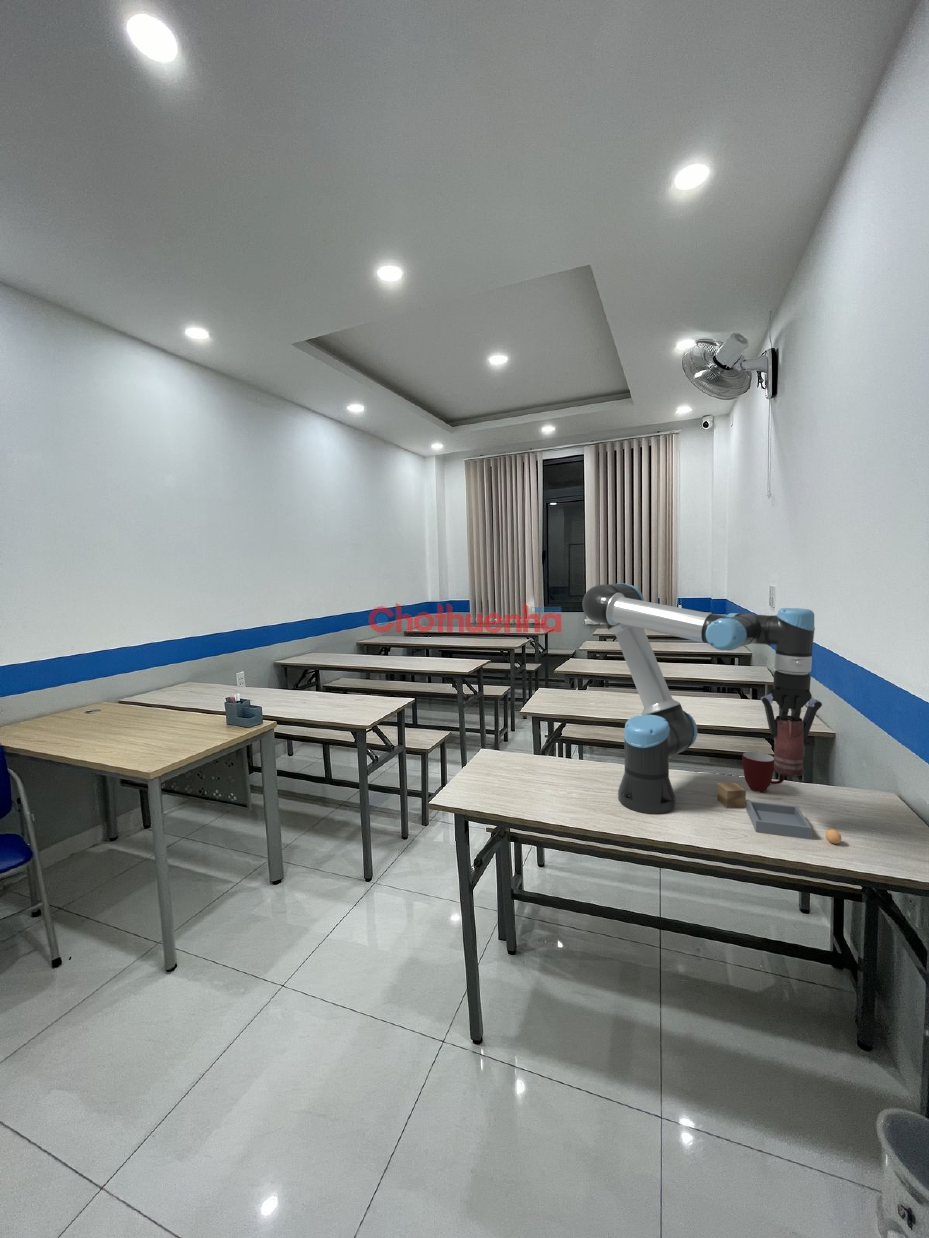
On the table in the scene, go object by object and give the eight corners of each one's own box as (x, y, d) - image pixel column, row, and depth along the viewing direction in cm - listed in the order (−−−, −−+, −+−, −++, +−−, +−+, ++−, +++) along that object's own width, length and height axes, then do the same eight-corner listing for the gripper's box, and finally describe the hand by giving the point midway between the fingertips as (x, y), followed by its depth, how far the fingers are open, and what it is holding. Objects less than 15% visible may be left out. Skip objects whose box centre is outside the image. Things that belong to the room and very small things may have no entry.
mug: (780, 786, 145) (781, 754, 144) (786, 798, 137) (787, 764, 136) (739, 782, 149) (740, 750, 148) (744, 793, 141) (744, 759, 140)
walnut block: (726, 808, 133) (727, 790, 132) (717, 800, 138) (717, 783, 137) (745, 808, 133) (745, 790, 132) (735, 799, 138) (735, 782, 137)
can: (778, 776, 120) (778, 721, 119) (771, 766, 126) (771, 713, 125) (807, 778, 118) (807, 722, 117) (798, 768, 124) (799, 714, 123)
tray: (755, 831, 120) (756, 821, 120) (746, 810, 131) (746, 800, 131) (811, 839, 116) (812, 828, 116) (797, 816, 127) (797, 806, 127)
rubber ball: (827, 844, 114) (828, 832, 113) (823, 838, 117) (823, 826, 116) (843, 847, 113) (843, 834, 112) (838, 840, 115) (838, 828, 115)
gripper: (765, 672, 118) (760, 766, 121) (830, 676, 114) (822, 773, 117) (758, 666, 126) (752, 755, 128) (818, 669, 121) (811, 761, 124)
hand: (785, 763), depth 123 cm, fingers closed
